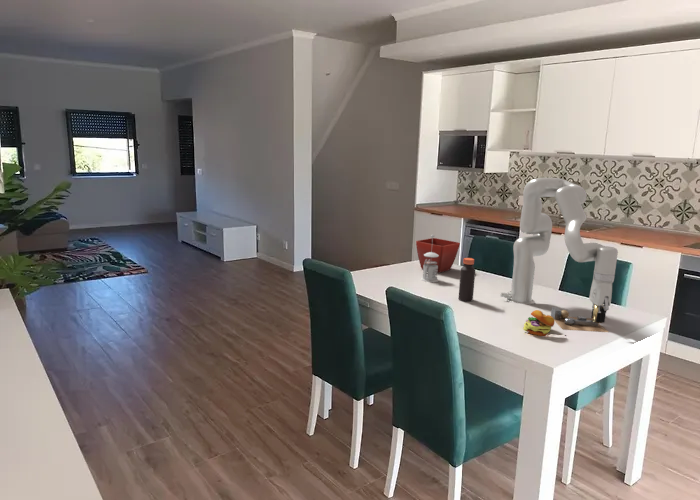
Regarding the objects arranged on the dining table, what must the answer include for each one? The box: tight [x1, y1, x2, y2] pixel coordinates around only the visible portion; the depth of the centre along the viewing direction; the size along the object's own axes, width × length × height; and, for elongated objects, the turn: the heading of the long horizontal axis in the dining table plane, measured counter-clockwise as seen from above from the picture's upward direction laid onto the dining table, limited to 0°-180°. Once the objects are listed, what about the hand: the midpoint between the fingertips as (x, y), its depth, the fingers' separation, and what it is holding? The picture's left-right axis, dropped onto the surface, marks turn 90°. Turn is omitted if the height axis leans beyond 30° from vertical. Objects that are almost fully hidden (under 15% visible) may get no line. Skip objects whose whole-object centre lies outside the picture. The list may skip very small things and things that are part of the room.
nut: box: [561, 309, 570, 319], centre depth 217 cm, size 4×4×4 cm
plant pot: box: [415, 237, 461, 274], centre depth 301 cm, size 19×19×17 cm
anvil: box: [550, 306, 562, 320], centre depth 217 cm, size 2×5×4 cm, turn 175°
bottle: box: [458, 257, 476, 303], centre depth 241 cm, size 7×7×20 cm
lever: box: [564, 304, 604, 326], centre depth 209 cm, size 15×5×9 cm, turn 86°
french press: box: [420, 234, 439, 283], centre depth 275 cm, size 10×12×25 cm
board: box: [554, 316, 609, 333], centre depth 211 cm, size 18×17×1 cm
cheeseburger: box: [522, 309, 555, 337], centre depth 202 cm, size 10×11×10 cm
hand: (597, 319), depth 209 cm, fingers closed on lever, 4 cm apart
